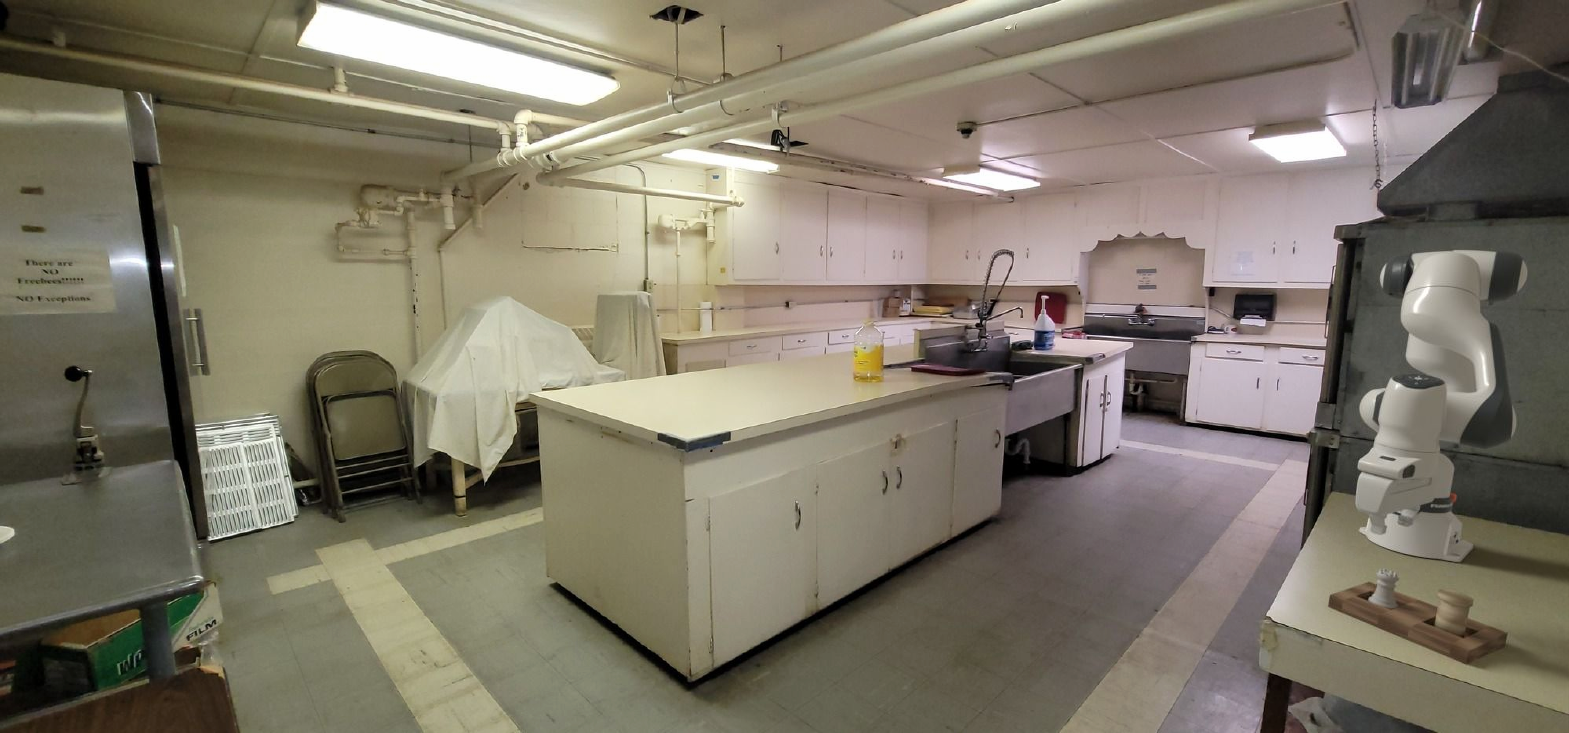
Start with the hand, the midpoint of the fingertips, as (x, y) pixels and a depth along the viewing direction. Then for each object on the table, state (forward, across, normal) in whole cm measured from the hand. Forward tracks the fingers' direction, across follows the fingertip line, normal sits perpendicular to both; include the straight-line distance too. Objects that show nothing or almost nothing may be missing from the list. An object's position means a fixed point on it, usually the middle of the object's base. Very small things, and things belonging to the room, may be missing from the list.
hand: (1391, 529), depth 121 cm
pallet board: (+17, 0, +5) cm, 18 cm away
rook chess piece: (+17, 0, +1) cm, 17 cm away
